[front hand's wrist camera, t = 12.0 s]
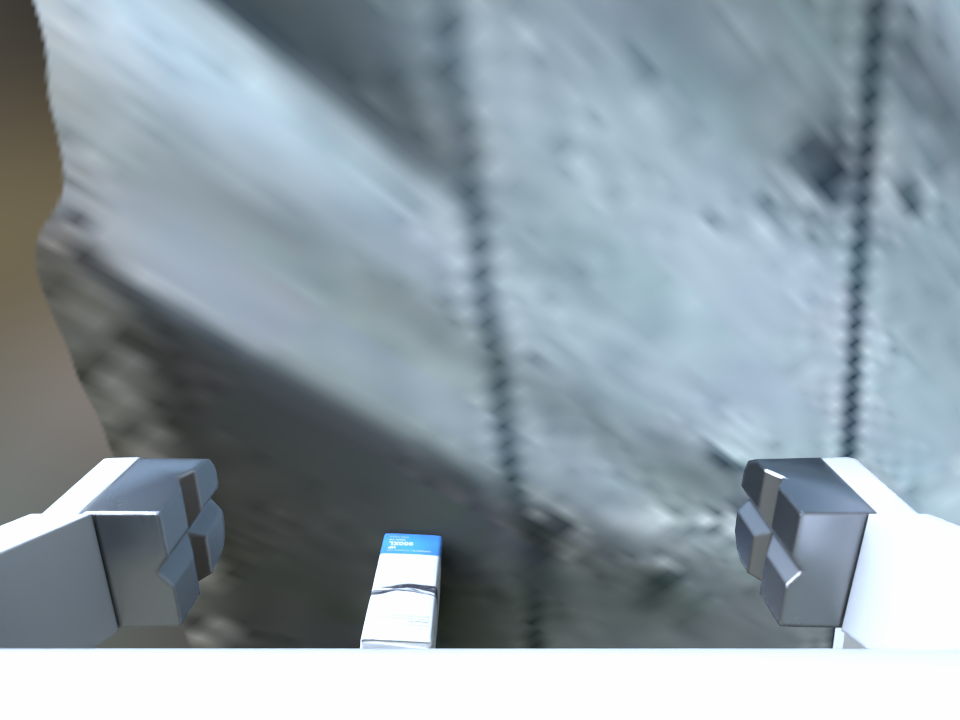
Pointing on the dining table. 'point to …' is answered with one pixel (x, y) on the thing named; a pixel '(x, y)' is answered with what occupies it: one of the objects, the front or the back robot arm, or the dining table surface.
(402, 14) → the dining table surface
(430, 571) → the ink box
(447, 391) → the dining table surface
